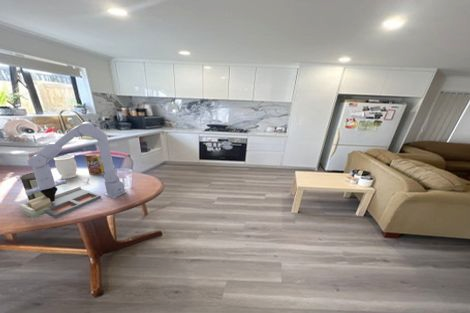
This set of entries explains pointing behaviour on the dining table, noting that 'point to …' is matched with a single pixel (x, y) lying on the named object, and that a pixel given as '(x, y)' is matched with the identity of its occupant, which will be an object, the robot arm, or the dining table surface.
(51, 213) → the board
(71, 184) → the dining table surface
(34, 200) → the maple block
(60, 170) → the jar
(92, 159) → the candy box
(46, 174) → the robot arm
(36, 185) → the coffee can
